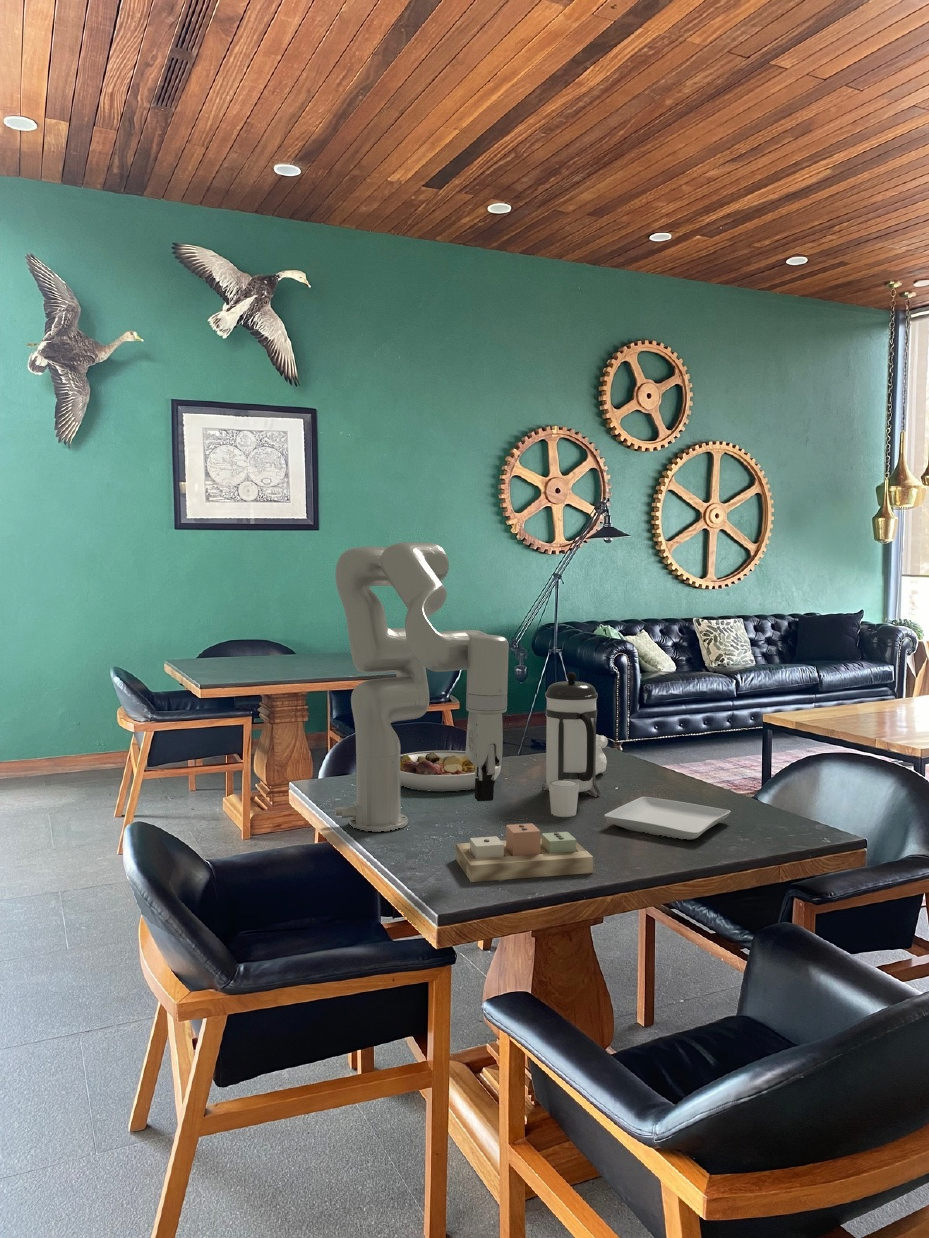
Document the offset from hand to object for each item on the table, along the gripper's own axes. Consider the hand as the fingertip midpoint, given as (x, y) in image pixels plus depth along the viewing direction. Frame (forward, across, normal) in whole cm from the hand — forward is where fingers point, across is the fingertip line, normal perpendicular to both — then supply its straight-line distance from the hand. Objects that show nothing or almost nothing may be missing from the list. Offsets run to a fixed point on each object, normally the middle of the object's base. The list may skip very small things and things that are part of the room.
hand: (483, 799), depth 173 cm
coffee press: (+14, -48, +35) cm, 61 cm away
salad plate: (+13, -18, +46) cm, 51 cm away
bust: (+15, -69, +48) cm, 85 cm away
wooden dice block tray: (+13, +1, +8) cm, 15 cm away
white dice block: (+13, +1, +1) cm, 13 cm away
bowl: (+16, -69, +6) cm, 71 cm away
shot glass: (+14, -32, +27) cm, 44 cm away
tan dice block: (+10, +1, +8) cm, 13 cm away
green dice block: (+12, +1, +15) cm, 19 cm away
